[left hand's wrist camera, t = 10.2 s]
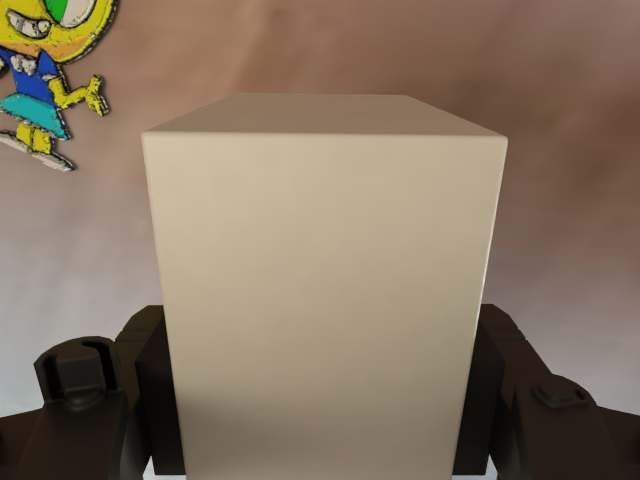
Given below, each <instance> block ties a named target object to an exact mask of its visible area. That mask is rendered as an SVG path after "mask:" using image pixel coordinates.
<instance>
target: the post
mask: <svg viewBox="0 0 640 480" xmlns="http://www.w3.org/2000/svg"><path fill="white" fill-rule="evenodd" d="M141 139H142V146H143V154H144V161H145V169H146V177H147V184H148V192H149V199H150V207H151V214H152V222H153V230H154V237H155V245H156V252H157V260H158V268H159V275H160V283H161V290H162V298H163V305H164V313H165V321H166V328H167V336H168V343H169V351H170V358H171V366H172V374H173V381H174V389H175V396H176V404H177V411H178V419H179V427H180V434H181V442H182V449H183V457H184V464H185V472H186V480H451V478H452V472H453V466H454V460H455V454H456V448H457V442H458V436H459V430H460V424H461V419H462V413H463V407H464V401H465V395H466V389H467V383H468V377H469V371H470V365H471V359H472V353H473V347H474V341H475V335H476V329H477V324H478V318H479V312H480V306H481V300H482V294H483V288H484V282H485V276H486V270H487V264H488V258H489V252H490V246H491V240H492V234H493V228H494V223H495V217H496V211H497V205H498V199H499V193H500V187H501V181H502V175H503V169H504V163H505V157H506V151H507V145H508V139H507V137H505V136H503V135H501V134H499V133H496V132H494V131H491V130H489V129H486V128H484V127H482V126H479V125H477V124H474V123H472V122H470V121H467V120H465V119H462V118H460V117H458V116H455V115H453V114H450V113H448V112H445V111H443V110H441V109H438V108H436V107H433V106H431V105H429V104H426V103H424V102H421V101H419V100H417V99H414V98H412V97H409V96H407V95H363V94H295V93H235V94H233V95H230V96H228V97H226V98H223V99H221V100H218V101H216V102H214V103H211V104H209V105H206V106H204V107H202V108H199V109H197V110H194V111H192V112H190V113H187V114H185V115H182V116H180V117H178V118H175V119H173V120H170V121H168V122H166V123H163V124H161V125H158V126H156V127H154V128H151V129H149V130H146V131H144V132H143V133H142V136H141Z"/></svg>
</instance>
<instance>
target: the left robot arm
mask: <svg viewBox="0 0 640 480" xmlns="http://www.w3.org/2000/svg"><path fill="white" fill-rule="evenodd" d="M34 368H35V371H36V375H37V378H38V381H39V385H40V388H41V392H42V395H43V399H44V402H45V403H44V405H43V407H42V408H40V409H37V410H33V411H29V412H24V413H20V414H15V415H10V416H6V417H1V418H0V480H144V479H143V473H144V471H145V469H146V466H147V464H148V462H149V459H150V457H151V456H152V461H153V467H154V472H155V475H186V472H185V464H184V457H183V449H182V442H181V434H180V427H179V419H178V411H177V404H176V396H175V389H174V381H173V374H172V366H171V358H170V351H169V343H168V336H167V328H166V321H165V313H164V305H148V306H146V307H145V308H143V309H142V310H140V311H139V312H137V313H136V314H134V315H133V316H132V317H131V318H130V320H129V321H128V322H127V324H126V325H125V326H124V328H123V331H121V332H120V333H119V335H118V336H117V337H116V339H115V342H113V341H112V340H111V339H109V338H105V337H101V336H86V337H80V338H76V339H71V340H68V341H65V342H63V343H61V344H58V345H56V346H53V347H52V348H50V349H49V350H47V351H46V352H44V353H43V354H41V355H40V357H39V358H38V359H37V360H36V361H35V363H34ZM489 454H490V456H491V459H492V461H493V463H494V466H495V468H496V470H497V473H498V474H497V479H496V480H640V416H639V415H634V414H630V413H625V412H620V411H616V410H611V409H607V408H604V407H600V406H597V404H596V402H595V401H594V399H593V398H592V396H591V395H590V394H589V392H588V391H586V390H585V389H584V388H582V387H581V386H580V385H578V384H577V383H575V382H573V381H571V380H569V379H567V378H565V377H563V376H559V375H555V374H552V373H551V372H550V370H549V369H548V368H547V366H546V365H545V363H544V362H543V361H542V359H541V358H540V357H539V355H538V354H537V353H536V351H535V350H534V349H533V347H532V346H531V345H530V343H529V342H528V340H525V336H524V335H523V334H522V332H521V331H520V330H518V327H517V326H516V324H515V323H514V321H513V320H512V319H511V317H510V316H509V315H508V314H507V313H505V312H504V311H502V310H501V309H499V308H498V307H496V306H495V305H493V304H481V306H480V312H479V318H478V324H477V329H476V335H475V341H474V347H473V353H472V359H471V365H470V371H469V377H468V383H467V389H466V395H465V401H464V407H463V413H462V419H461V424H460V430H459V436H458V442H457V448H456V454H455V460H454V466H453V472H452V475H485V474H486V468H487V463H488V457H489Z"/></svg>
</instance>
